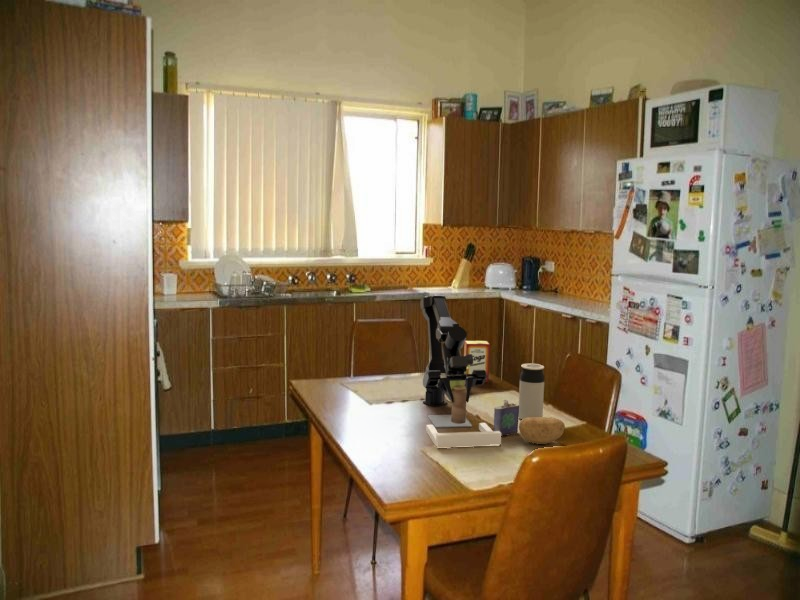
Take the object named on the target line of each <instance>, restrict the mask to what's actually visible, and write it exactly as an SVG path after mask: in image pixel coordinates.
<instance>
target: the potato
mask: <svg viewBox="0 0 800 600" xmlns="http://www.w3.org/2000/svg"><path fill="white" fill-rule="evenodd" d="M565 428H566V425H565V423H564V422H563V421H562V420H561V419H559V418H556V417H544V416H543V417H529V418H524V419H522V420H521V419H520V421H519V422H518V431H519V434H520V435H521V437H523V439H524V440H526V441H527V442H529V443H531V442H532V443H531V444H534V443H538V444H546V445H548V444H547V443H549V444H551V443H553V442H554V441H557V440H558V439H560V437H562V435H563V434H564V430H565ZM538 444H537V445H538Z"/></svg>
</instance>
